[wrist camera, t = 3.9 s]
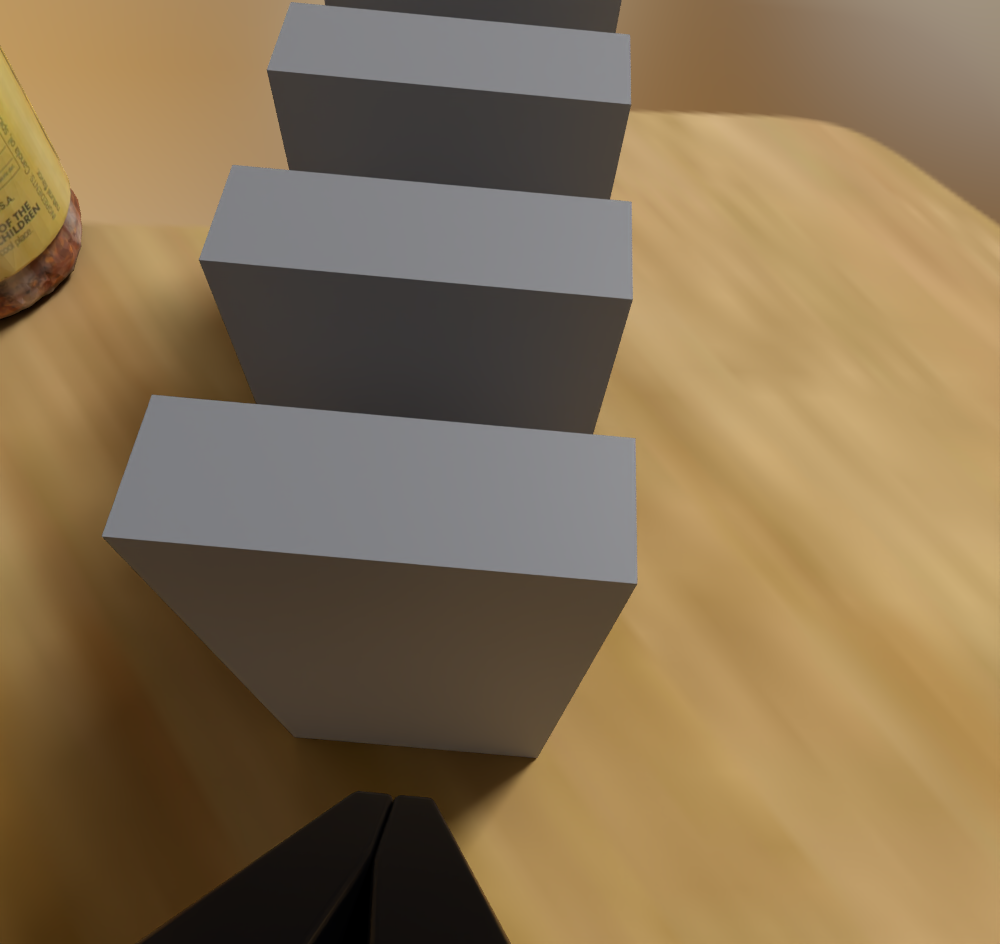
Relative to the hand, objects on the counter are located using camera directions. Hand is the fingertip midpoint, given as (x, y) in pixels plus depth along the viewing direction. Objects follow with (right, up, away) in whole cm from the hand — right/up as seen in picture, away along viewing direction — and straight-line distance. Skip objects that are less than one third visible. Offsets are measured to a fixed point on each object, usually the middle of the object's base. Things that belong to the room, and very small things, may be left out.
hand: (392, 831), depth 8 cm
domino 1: (-1, -1, +8) cm, 8 cm away
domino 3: (0, +5, +12) cm, 13 cm away
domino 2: (0, +2, +10) cm, 10 cm away
